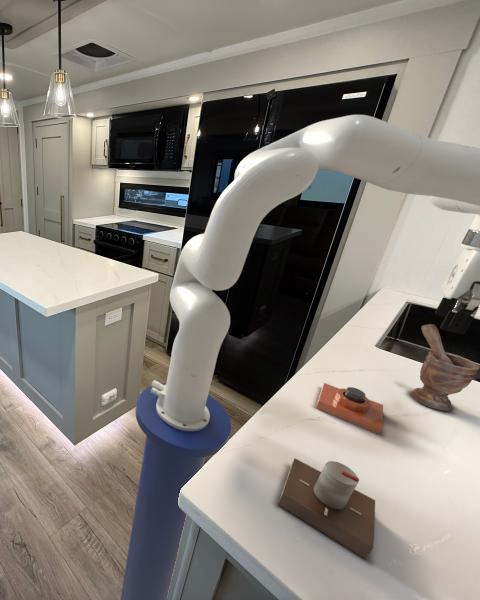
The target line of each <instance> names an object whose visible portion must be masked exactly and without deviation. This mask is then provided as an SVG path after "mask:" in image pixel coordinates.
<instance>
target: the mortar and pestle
mask: <svg viewBox="0 0 480 600" xmlns="http://www.w3.org/2000/svg"><path fill="white" fill-rule="evenodd" d="M420 330H421V331H422V334H423V336H424V338H425V340H426V341H427V343H428V345H429V347H430V349H431V350H429V351H428V352H427V354H426V357H425V358H424V361H423V363H422V365H421V367H420V372H419V380H420V381H421V383H422V384H423V386H421V387H416V388H414V389H413V390H412V391H411V392H410V397H411V398H412V399H413V400H414V401H417V402H418V403H420V404H422V405H424V406H426V407H428V408H431V409H435V410H439V411H445V412H449V411H450V410H451V409H452V401H451V400H450V398H449V396H450V395H453V394H454V395H455V394H458V393H460V392H462V391H463V389H465V388H467V387H468V386H469V385H470V384H471V383H472V381H473V380H474V378H475V376H476V374H477V373H478V371H479V370H480V366H479V364H477V363H475V362H474V361H472V360H470V359H468V358H465V357H463V356H460V355H457V354H454V353H451V352H446V351H445V349H444V345H443V343H442V338H441V334H440V330H439V328H438V327H437V326H436V325H435V324H432V323H429V324H423V325H421V328H420Z"/></svg>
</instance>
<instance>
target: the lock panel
mask: <svg viewBox="0 0 480 600" xmlns="http://www.w3.org/2000/svg"><path fill="white" fill-rule="evenodd" d="M321 472H322V471H320V470H318V469H316V468H314V467H312V466H311V465H309V464H307V463H305V462H303V461H301V460H300V459H297V458H295V457H294V458H293V461H292V462H291V465H290V468H289V470H288V472H287V477H286V478H285V482H284V485H283V488H282V491H281V494H280V496H279V500H278V503H277V505H278V506H279V507H281V508H282V509H284V510H285V511H287V512H289V513H290V514H292V515H293V516H296V517H297V518H298V519H300V520H302V521H303V522H305V523H306V524H308V525H310V526H311V527H313V528H315V529H316V530H318V531H320V532H321V533H322V534H324V535H326V536H328V538H331V539H332V540H334V541H335V542H337V543H339V544H340V545H342V546H344V547H345V548H347V549H348V550H350V551H352V552H353V553H355V554H357V555H358V556H360V557H362V558H363V559H364V560H366V559H367V558H368V556H369V555H370V554H371V552H372V551H373V549H374V544H375V543H374V542H375V519H376V499H374V498H372V497H370V496H368V495H366V494H364V493H363V492H360V491H358V490H357V489H356V488H355V489H354V491H353V493H352V495H351V496H350V498H349V500H348V502H347V503H346V505H345V507H344V508H343V509H334V508H331V507H329V506H327V505H325V504H324V503H323V502H321V501H320V500H319V499H318V498H317V496H316V495H315V493H314V486H315V484H316V482H317V480H318V478H319V476H320V474H321Z"/></svg>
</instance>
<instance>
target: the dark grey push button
mask: <svg viewBox="0 0 480 600" xmlns="http://www.w3.org/2000/svg"><path fill="white" fill-rule="evenodd" d="M345 389H346V391H345V394H344V396H345V397H346V398H347V399H349V400H351V401H353V402H356V403H362V402H363V400H364V398H365V397H367V396H366V393H365V392H364V391H363V390H361V389H359V388H356V387H353V386H348V387H346V388H345Z"/></svg>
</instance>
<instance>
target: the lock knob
mask: <svg viewBox="0 0 480 600" xmlns="http://www.w3.org/2000/svg"><path fill="white" fill-rule="evenodd" d="M320 472H321V474H320V476H319V478H318V480H317V482H316V484H315V486H314V493H315V495H316V496H317V498H318V499H319V500H320V501H321V502H323V503H324V504H325V505H327V506H329V507H331V508H334V509H343V508H344V507H345V505H346V503H347V502H348V500H349V498H350V496H351V495H352V493H353V491H354V489H355V490H356V487H357V486H358V484H359V481H360V478H359V477H358V475H357V474H356V473H355V471H353V470H352V469H351V468H350V467H348V466H347V465H345V464H343V463H342V462H339V461H335V460H329V461H327V462H325V463H324V466H323V468H322V469H321V471H320Z"/></svg>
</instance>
